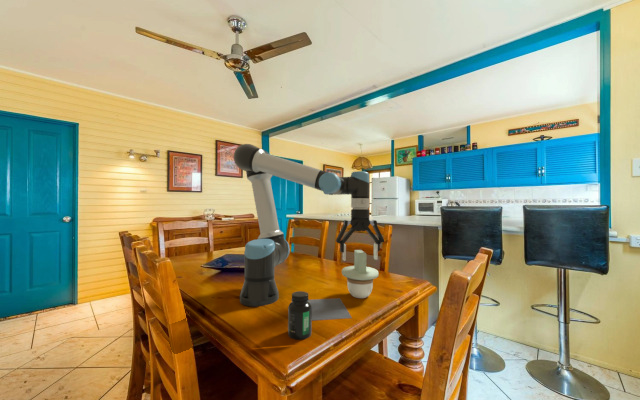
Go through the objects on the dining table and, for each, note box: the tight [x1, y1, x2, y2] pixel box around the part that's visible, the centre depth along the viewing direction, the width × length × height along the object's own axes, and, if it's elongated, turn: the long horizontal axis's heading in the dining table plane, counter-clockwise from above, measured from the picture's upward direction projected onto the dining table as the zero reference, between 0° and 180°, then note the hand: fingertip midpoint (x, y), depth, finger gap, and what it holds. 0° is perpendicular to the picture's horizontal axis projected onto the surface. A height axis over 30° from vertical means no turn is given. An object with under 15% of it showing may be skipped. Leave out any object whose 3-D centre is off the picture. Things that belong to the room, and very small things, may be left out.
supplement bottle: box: [287, 290, 313, 341], centre depth 76 cm, size 7×7×12 cm
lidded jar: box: [346, 277, 374, 299], centre depth 107 cm, size 11×11×9 cm
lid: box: [341, 249, 379, 280], centre depth 107 cm, size 15×15×9 cm
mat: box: [308, 297, 353, 321], centre depth 94 cm, size 18×18×1 cm
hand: (360, 259), depth 107 cm, fingers open, 13 cm apart
